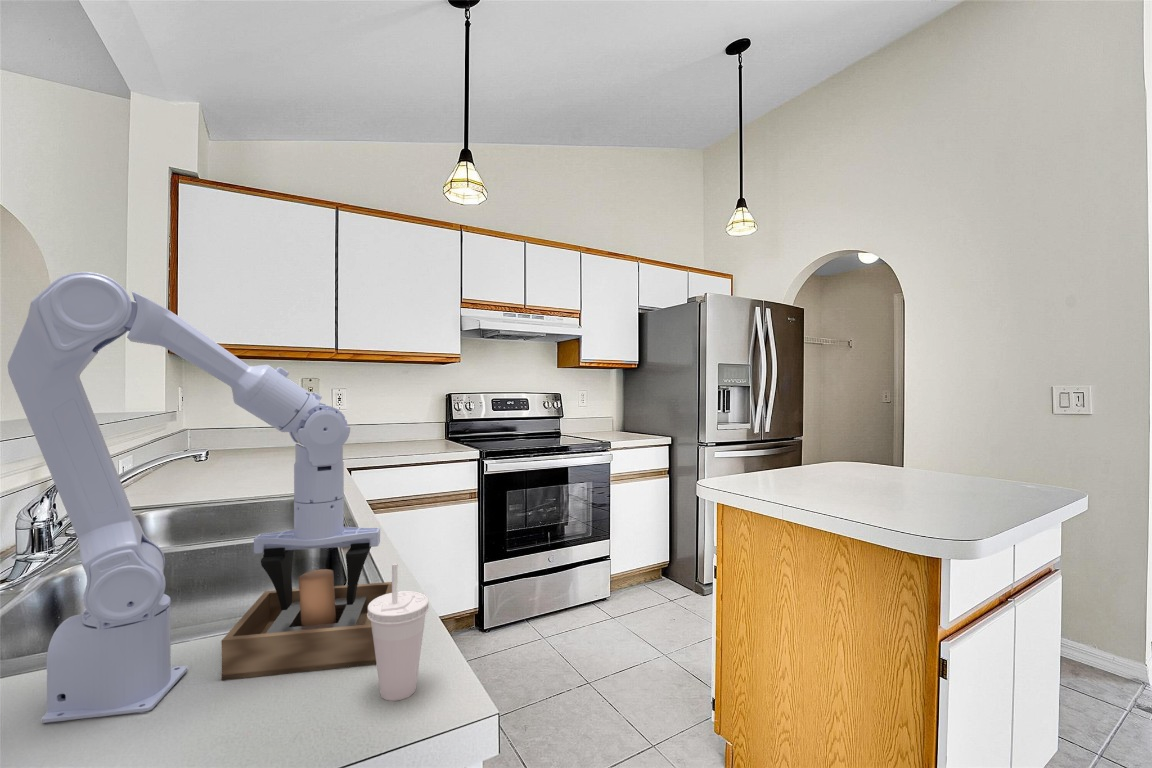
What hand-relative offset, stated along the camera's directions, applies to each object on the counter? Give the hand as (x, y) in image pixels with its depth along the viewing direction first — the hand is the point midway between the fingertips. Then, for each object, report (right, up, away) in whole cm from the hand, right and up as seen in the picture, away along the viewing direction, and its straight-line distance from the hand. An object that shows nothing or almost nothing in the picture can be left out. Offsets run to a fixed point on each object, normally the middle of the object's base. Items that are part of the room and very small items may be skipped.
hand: (319, 604), depth 69 cm
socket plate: (0, -5, 0) cm, 5 cm away
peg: (0, -4, 0) cm, 4 cm away
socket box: (0, -5, 0) cm, 5 cm away
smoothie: (+14, -5, -10) cm, 18 cm away
